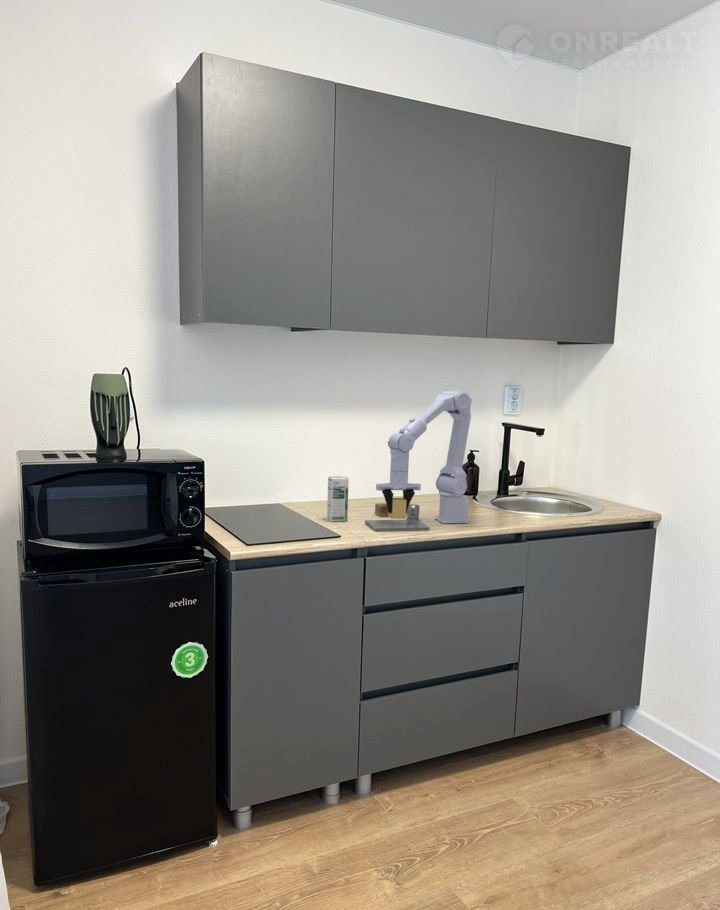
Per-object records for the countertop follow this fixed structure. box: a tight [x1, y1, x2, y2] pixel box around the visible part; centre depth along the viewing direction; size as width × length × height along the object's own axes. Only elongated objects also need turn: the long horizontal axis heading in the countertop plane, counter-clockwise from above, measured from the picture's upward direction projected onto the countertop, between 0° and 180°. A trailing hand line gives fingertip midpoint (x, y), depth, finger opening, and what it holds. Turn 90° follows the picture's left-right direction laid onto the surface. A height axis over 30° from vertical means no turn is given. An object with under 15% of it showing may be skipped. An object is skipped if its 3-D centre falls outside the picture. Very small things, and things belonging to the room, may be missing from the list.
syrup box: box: [326, 475, 350, 522], centre depth 232 cm, size 6×6×14 cm
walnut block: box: [374, 502, 390, 518], centre depth 242 cm, size 5×5×4 cm
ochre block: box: [388, 497, 407, 520], centre depth 225 cm, size 4×4×6 cm
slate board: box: [364, 519, 431, 533], centre depth 225 cm, size 18×12×1 cm, turn 105°
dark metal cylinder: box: [406, 503, 420, 521], centre depth 237 cm, size 4×4×5 cm
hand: (397, 512), depth 225 cm, fingers closed on ochre block, 4 cm apart
